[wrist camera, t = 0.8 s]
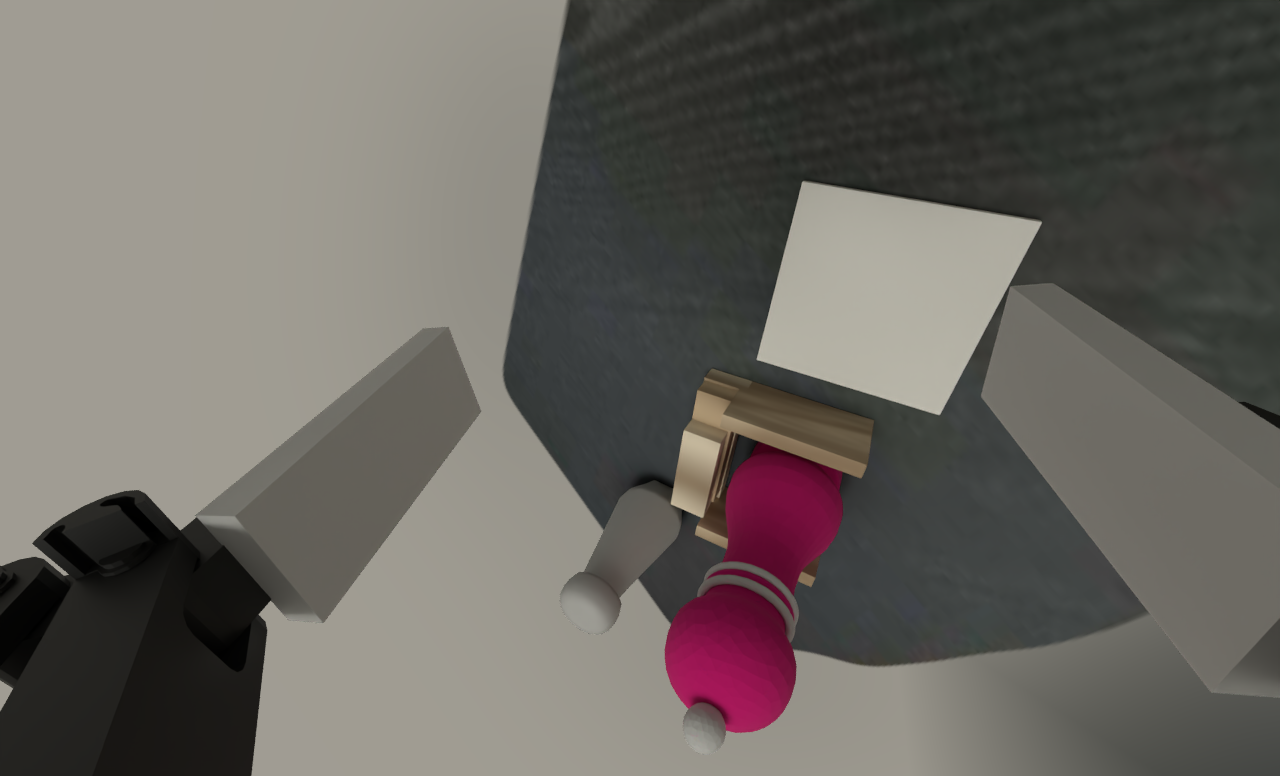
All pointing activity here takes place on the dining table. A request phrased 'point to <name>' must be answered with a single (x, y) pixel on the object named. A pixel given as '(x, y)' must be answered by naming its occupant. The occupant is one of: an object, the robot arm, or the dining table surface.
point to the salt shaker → (621, 556)
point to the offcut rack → (766, 419)
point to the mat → (889, 290)
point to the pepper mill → (752, 598)
